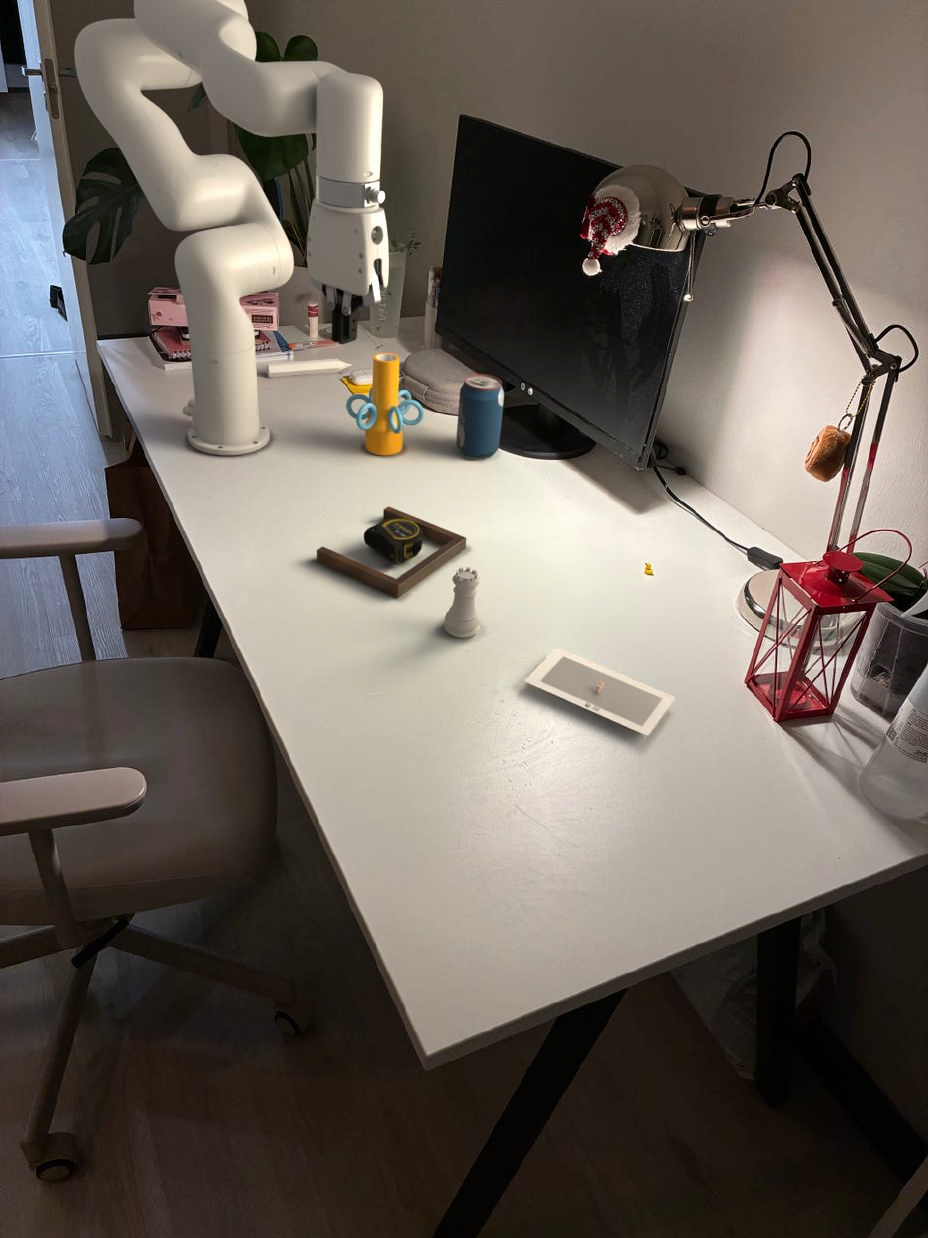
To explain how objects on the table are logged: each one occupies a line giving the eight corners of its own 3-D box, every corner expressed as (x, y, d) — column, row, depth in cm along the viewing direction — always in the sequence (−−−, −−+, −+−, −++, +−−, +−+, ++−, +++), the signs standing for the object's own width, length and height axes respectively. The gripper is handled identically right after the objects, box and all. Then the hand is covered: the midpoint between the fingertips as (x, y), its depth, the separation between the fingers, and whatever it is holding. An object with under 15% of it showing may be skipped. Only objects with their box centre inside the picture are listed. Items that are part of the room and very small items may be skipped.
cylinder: (425, 438, 159) (430, 349, 150) (416, 466, 150) (421, 374, 142) (352, 430, 159) (353, 341, 151) (339, 457, 151) (339, 364, 142)
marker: (353, 373, 181) (268, 379, 175) (350, 364, 182) (265, 370, 176) (355, 364, 179) (269, 370, 173) (352, 355, 180) (267, 360, 174)
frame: (316, 561, 126) (316, 549, 125) (388, 517, 137) (388, 506, 136) (397, 598, 121) (398, 586, 120) (465, 548, 131) (466, 537, 130)
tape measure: (361, 548, 129) (361, 524, 127) (402, 534, 133) (403, 510, 131) (390, 572, 125) (391, 547, 123) (432, 556, 129) (434, 532, 127)
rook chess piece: (485, 623, 118) (491, 568, 113) (473, 643, 114) (479, 587, 109) (450, 614, 119) (455, 559, 114) (437, 634, 115) (442, 577, 110)
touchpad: (555, 654, 114) (557, 639, 112) (674, 705, 108) (677, 690, 106) (522, 688, 108) (524, 673, 107) (646, 743, 102) (649, 728, 101)
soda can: (506, 451, 157) (513, 380, 150) (483, 465, 152) (490, 393, 145) (470, 438, 160) (476, 368, 153) (447, 452, 155) (452, 381, 148)
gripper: (416, 201, 115) (406, 349, 126) (322, 174, 122) (320, 318, 132) (375, 210, 110) (369, 364, 121) (279, 182, 116) (282, 331, 127)
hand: (344, 340), depth 127 cm, fingers closed
